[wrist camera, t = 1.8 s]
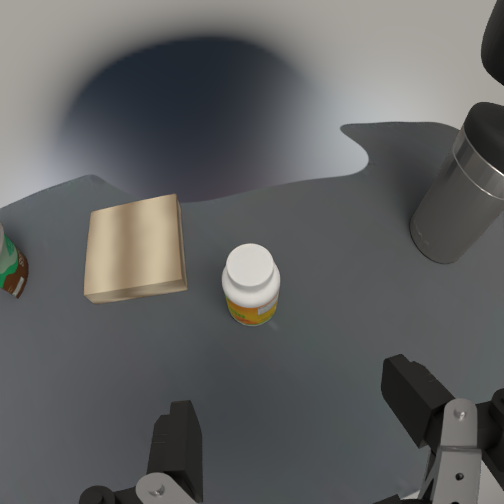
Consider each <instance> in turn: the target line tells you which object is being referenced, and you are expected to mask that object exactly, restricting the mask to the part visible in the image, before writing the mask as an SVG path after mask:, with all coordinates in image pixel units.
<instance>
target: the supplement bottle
mask: <svg viewBox="0 0 504 504" xmlns="http://www.w3.org/2000/svg"><path fill="white" fill-rule="evenodd" d="M222 286H223V290H224V294H225V297H226V301H227V305H228V309H229V311H230V313H231V315H232V316H233V318H234V319H235V320H236V321H238V322H239V323H241V324H243V325H247V326H258V325H261V324H263V323H265V322H267V321H268V320H269V319H270V318H271V317H272V316H273V314H274V313H275V310H276V307H277V302H278V295H279V288H280V273H279V270H278V268H277V266H276V264H275V263H274V261H273V258H272V256H271V254H270V253H269V251H268V250H267V249H265V248H264V247H262V246H260V245H257V244H244V245H241V246H239V247H237V248H235V249H234V250H233V251H232V252H231V253H230V255H229V256H228V259H227V262H226V266H225V268H224V270H223V273H222Z"/></svg>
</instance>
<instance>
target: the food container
mask: <svg viewBox="0 0 504 504" xmlns="http://www.w3.org/2000/svg"><path fill="white" fill-rule="evenodd" d="M27 278H28V262H27V259H26V258H25V256H24V255H23V254H22V253H21V252H20V251H19V250H18V249H17V247H16V246H15V245H14V244H13V243H12V242H11V241H10V239H9V238H8V237H7V236H6V235H5V234H4V230H3V226H2V224H1V222H0V287H1V288H2V289H4V290H5V291H7V292H8V293H10V294H12V295H13V296H15V297H16V298H19V297H20V295H21V294H22V292H23V289H24V287H25V285H26V282H27Z"/></svg>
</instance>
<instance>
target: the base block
mask: <svg viewBox="0 0 504 504" xmlns="http://www.w3.org/2000/svg"><path fill="white" fill-rule="evenodd" d="M184 290H188V289H187V280H186V270H185V259H184V248H183V235H182V222H181V208H180V205H179V202H178V199H177V196H176V194H171V195H166V196H161V197H156V198H152V199H146V200H142V201H137V202H132V203H128V204H123V205H119V206H115V207H110V208H106V209H102V210H98V211H93V212H91V218H90V226H89V235H88V244H87V254H86V267H85V282H84V296H86V297H87V298H88V299H89V300H90V301H92V302H93V303H94V304H101V303H108V302H114V301H121V300H127V299H134V298H140V297H147V296H153V295H159V294H166V293H172V292H178V291H184Z"/></svg>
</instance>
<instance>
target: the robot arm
mask: <svg viewBox="0 0 504 504" xmlns="http://www.w3.org/2000/svg"><path fill="white" fill-rule="evenodd" d="M481 59H482V63H483V66H484V68H485V69H486V71H487V72H488V73H489V74H490V75H491V76H492V77H493V78H494V79H495V80H497V81H498V82H499V83H501V84H502V85H503V86H504V0H497V2H496V4H495V6H494V9H493V11H492V14H491V16H490V18H489V21H488V23H487V26H486V29H485V32H484V36H483V41H482V46H481ZM503 210H504V106H501V105H498V104H494V103H489V102H480V103H477V104H475V105H474V106H473V107H472V108H471V109H470V111H469V113H468V115H467V117H466V119H465V122H464V123H463V126H462V128H461V130H460V132H459V134H458V136H457V138H456V140H455V141H454V144H453V146H452V148H451V149H450V151H449V153H448V155H447V157H446V159H445V161H444V163H443V164H442V166H441V168H440V170H439V172H438V173H437V175H436V177H435V179H434V181H433V182H432V184H431V186H430V188H429V189H428V191H427V193H426V194H425V196H424V198H423V199H422V201H421V203H420V204H419V206H418V208H417V209H416V211H415V213H414V214H413V216H412V218H411V221H410V231H411V235H412V238H413V240H414V242H415V244H416V246H417V247H418V248H419V249H420V251H421V252H422V253H423V254H424V255H426V256H427V257H428V258H430V259H431V260H433V261H436V262H438V263H443V264H449V263H453V262H455V261H457V260H458V259H459V258H460V257H461V256H462V255H463V254H464V253H465V252H466V251H467V250H468V249H469V248H470V247H471V246H472V245H473V244H474V242H475V241H476V240H477V239H478V238H479V237H480V236H481V235H482V234H483V233H484V232H485V230H486V229H487V228H488V227H489V226H490V225H491V224H492V223H493V221H494V220H495V219H496V218H497V217H498V216H499V214H500V213H501V212H502V211H503ZM381 392H382V395H383V398H384V399H385V401H386V402H387V404H388V405H389V407H390V408H391V409H392V411H393V412H394V414H395V415H396V416H397V418H398V419H399V421H400V422H401V424H402V425H403V426H404V428H405V429H406V431H407V432H408V434H409V435H410V437H411V438H412V439H413V441H414V442H415V444H416V445H417V447H418V448H421V447H424V446H426V445H429V447H430V451H429V455H428V460H427V465H426V470H425V474H424V479H423V483H422V487H421V490H420V493H419V495H418V498H417V499H403V500H400V498H399V496H398V494H396V495H394V496H391V497H389V498H387V499H384V500H381V501H379V502H376V503H374V504H477V501H478V493H479V484H480V473H481V459H482V460H483V462H484V463H485V465H486V466H487V467H488V469H489V470H490V472H491V473H492V475H493V476H494V477H495V479H496V480H497V482H498V483H499V485H500V486H501V487H502V489H503V491H504V388H503V389H499V390H497V391H496V392H495V393H494V395H493V397H492V400H491V401H488V402H484V403H480V404H474V403H473V402H471V401H469V400H467V399H462V398H460V399H456V398H455V397H454V396H453V395H452V394H451V393H450V392H449V391H448V390H447V389H446V388H445V387H444V386H443V385H442V384H441V383H440V382H439V381H438V380H436V378H435V377H434V376H433V375H432V374H431V373H430V372H429V371H428V370H427V368H426V367H425V366H423V365H421V364H419V363H417V362H415V361H413V362H409V360H408V359H407V358H406V357H405V356H404V355H402V354H399V355H396V356H393V357H390V358H387V359H385V360H384V363H383V373H382V382H381ZM199 502H203V476H202V433H201V428H200V425H199V422H198V419H197V416H196V414H195V411H194V408H193V405H192V403H191V401H190V400H186V401H177V402H172V403H171V407H170V415H161V416H160V417H159V419H158V420H157V422H156V423H155V425H154V431H153V437H152V444H151V449H150V455H149V462H148V468H147V474H146V475H145V476H144V477H142V478H141V479H140V480H139V481H138V483H137V485H136V486H135V487H133V488H129V489H125V490H121V491H116V492H112V491H111V490H110V489H109V488H107V487H104V486H92V487H90V488H88V489H86V490H85V491H84V492H83V493H82V494H81V496H80V500H79V504H197V503H199Z"/></svg>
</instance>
